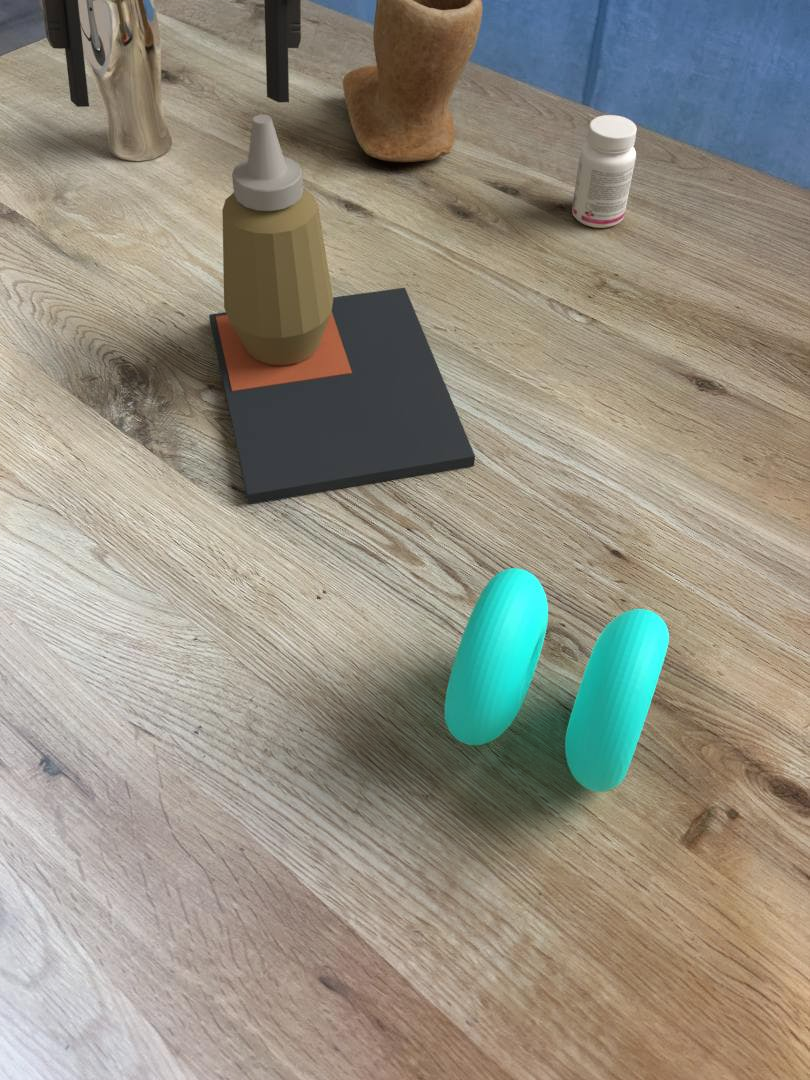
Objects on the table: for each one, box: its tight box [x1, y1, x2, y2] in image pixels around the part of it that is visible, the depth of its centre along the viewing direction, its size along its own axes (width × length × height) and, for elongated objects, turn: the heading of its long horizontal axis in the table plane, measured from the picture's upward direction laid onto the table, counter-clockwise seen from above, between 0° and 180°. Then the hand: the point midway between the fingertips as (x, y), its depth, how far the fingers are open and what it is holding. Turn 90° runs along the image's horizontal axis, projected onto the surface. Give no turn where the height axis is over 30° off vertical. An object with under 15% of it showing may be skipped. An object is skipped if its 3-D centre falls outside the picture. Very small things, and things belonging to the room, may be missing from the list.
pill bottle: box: [571, 114, 637, 229], centre depth 92 cm, size 5×5×8 cm
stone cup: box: [342, 0, 483, 163], centre depth 98 cm, size 15×12×15 cm
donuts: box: [444, 567, 670, 793], centre depth 57 cm, size 10×10×10 cm
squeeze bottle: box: [221, 114, 334, 365], centre depth 74 cm, size 8×8×18 cm
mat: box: [208, 287, 476, 505], centre depth 79 cm, size 20×16×1 cm
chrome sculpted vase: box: [78, 0, 173, 162], centre depth 96 cm, size 7×7×15 cm
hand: (182, 102), depth 72 cm, fingers open, 13 cm apart
